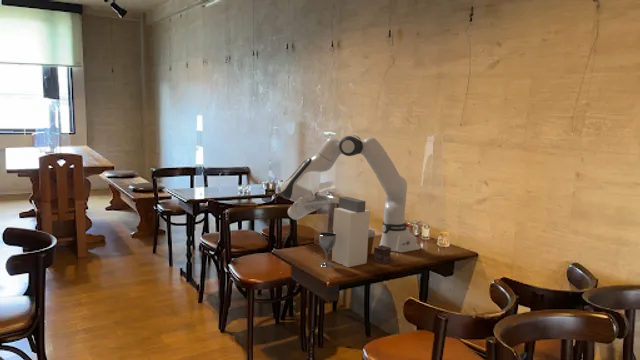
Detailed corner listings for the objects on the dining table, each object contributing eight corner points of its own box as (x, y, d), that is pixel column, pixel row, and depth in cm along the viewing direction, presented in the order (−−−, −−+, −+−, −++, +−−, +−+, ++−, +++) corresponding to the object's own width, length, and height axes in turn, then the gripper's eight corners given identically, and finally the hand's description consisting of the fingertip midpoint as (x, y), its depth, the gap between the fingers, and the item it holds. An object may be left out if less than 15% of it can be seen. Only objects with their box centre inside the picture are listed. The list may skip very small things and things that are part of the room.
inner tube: (314, 198, 259) (314, 192, 258) (319, 197, 261) (319, 191, 260) (343, 206, 241) (343, 199, 240) (348, 205, 243) (348, 199, 242)
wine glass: (328, 261, 242) (329, 231, 239) (338, 265, 235) (339, 235, 233) (314, 263, 237) (316, 233, 235) (324, 268, 231) (326, 237, 228)
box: (390, 262, 245) (391, 247, 244) (382, 264, 241) (383, 249, 240) (380, 259, 249) (381, 244, 248) (373, 261, 245) (374, 246, 244)
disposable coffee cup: (377, 255, 255) (379, 232, 253) (362, 257, 250) (363, 234, 249) (367, 250, 263) (368, 228, 262) (352, 252, 259) (353, 229, 257)
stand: (330, 259, 244) (333, 197, 239) (348, 256, 251) (352, 195, 247) (348, 267, 234) (352, 202, 229) (367, 263, 241) (370, 200, 236)
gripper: (290, 200, 261) (304, 191, 250) (320, 197, 273) (335, 188, 263) (293, 212, 259) (307, 203, 249) (324, 208, 272) (338, 199, 261)
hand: (322, 195), depth 256 cm, fingers open, 8 cm apart
